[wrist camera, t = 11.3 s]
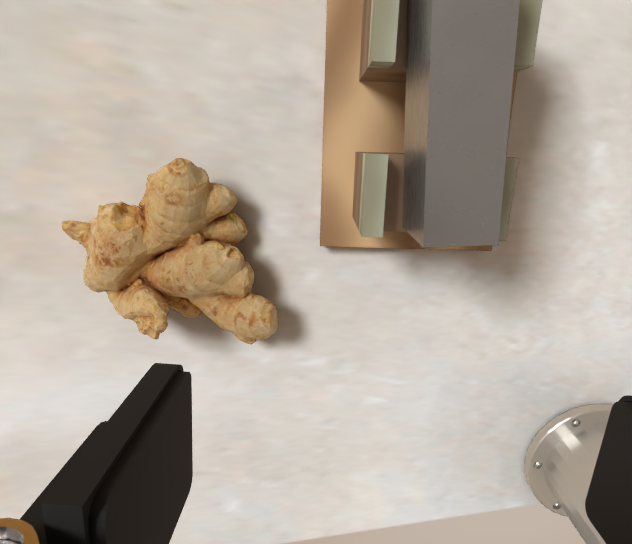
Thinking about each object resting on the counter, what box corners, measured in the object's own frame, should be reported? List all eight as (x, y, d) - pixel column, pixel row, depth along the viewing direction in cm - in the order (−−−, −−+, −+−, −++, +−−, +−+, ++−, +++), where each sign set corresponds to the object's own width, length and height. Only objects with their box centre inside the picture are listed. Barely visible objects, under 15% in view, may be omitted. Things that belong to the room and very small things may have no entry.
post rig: (522, -25, 31) (605, -93, 22) (484, 246, 37) (539, 280, 28) (328, -30, 31) (332, -101, 22) (320, 242, 37) (320, 274, 28)
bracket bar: (477, -17, 25) (525, -65, 19) (462, 225, 29) (498, 245, 23) (408, -14, 25) (434, -61, 19) (402, 226, 29) (423, 247, 23)
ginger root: (53, 161, 34) (11, 169, 27) (257, 149, 37) (270, 154, 30) (94, 341, 39) (68, 390, 32) (271, 316, 42) (285, 356, 35)
